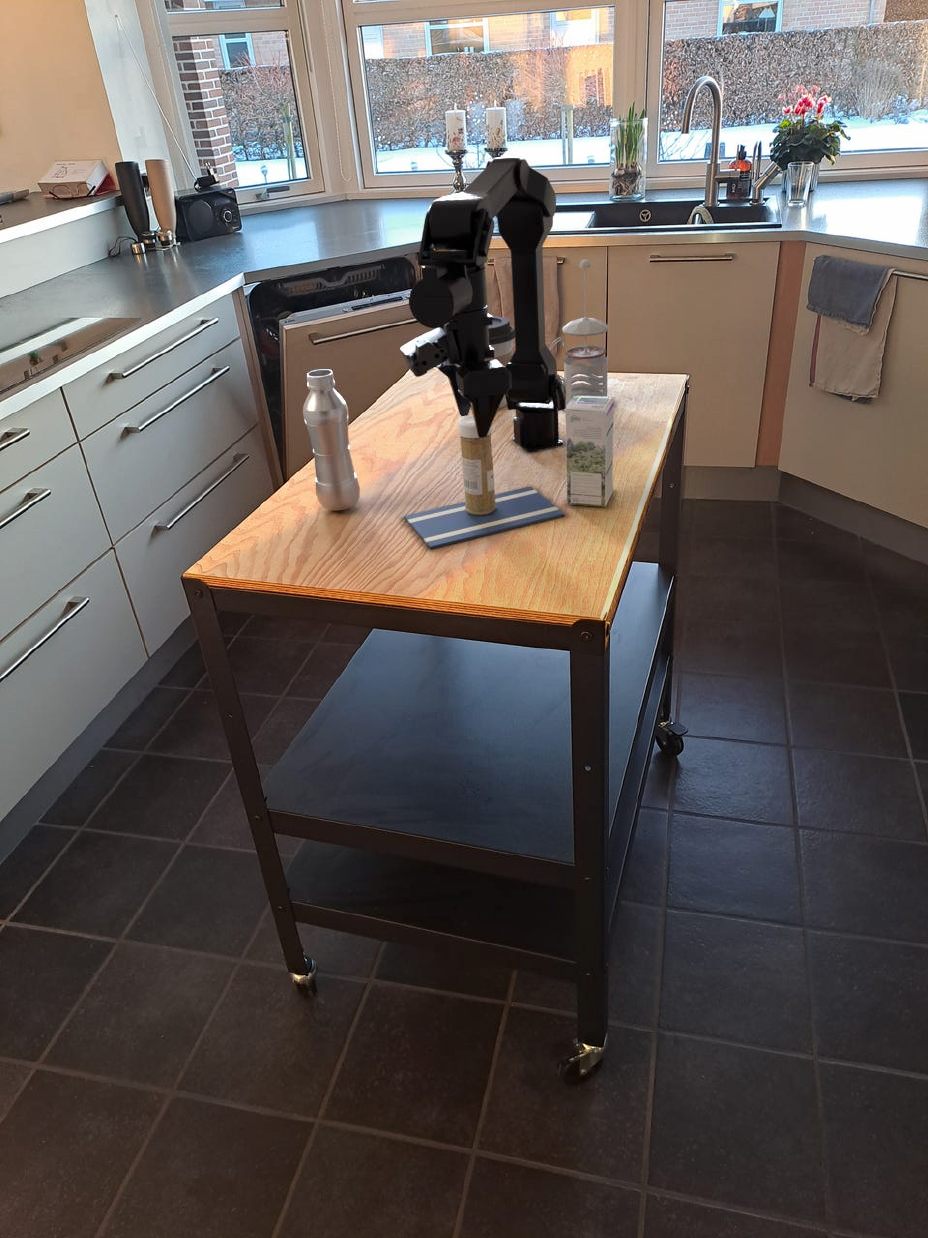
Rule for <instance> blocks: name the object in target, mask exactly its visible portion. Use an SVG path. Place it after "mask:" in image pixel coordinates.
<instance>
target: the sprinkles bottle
mask: <svg viewBox="0 0 928 1238" xmlns="http://www.w3.org/2000/svg"><path fill="white" fill-rule="evenodd" d="M457 431H458V435H459V438H460V451H461V453H460V457H461V458H460V459H461V471H462V483H463V491H464V502H466V505H465V510H466V512H467V513H469V514H472V515H487V514H490V513H492V512H493V511H494V510H495V509H496V503H495V493H496V492H495V487H496V486H495V485H496V484H495V473H494V458H493V448H492V437H491V436H492V433H493V423H492V424H491V427H490V429H489V432H488V434H487V436H486V437H482V438H480V437H478V434H477V430H476V426H475V422H474V418H473V414H470V415H469V414H468V415H467V416H462V417H461V418H460V419H458V422H457Z"/></svg>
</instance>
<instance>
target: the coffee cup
mask: <svg viewBox="0 0 928 1238" xmlns="http://www.w3.org/2000/svg"><path fill="white" fill-rule="evenodd" d="M491 316H492V322H493V325H488V327H489V344H490V346H491V347H492V348H493V349H494V357H493V358H486V359H485V361H489V360H497V361H498V362H500V363H501V364H502V365H503V366H504V367H506V365H507V364H508V363H509V361H510V359H511V357H512V355H513V349H514V348H513V347H514V346H513V345H514V340H515V329H514V326H512V325H511V322H510V319H509V318H507V317H503V316H500V315H499V316H498V315H491ZM505 407H507V402H506V397H505V395H504V397H503V399H502V401H501V403H500V405H499V408H498V410H500V409H503V408H505Z"/></svg>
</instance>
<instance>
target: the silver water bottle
mask: <svg viewBox="0 0 928 1238" xmlns="http://www.w3.org/2000/svg"><path fill="white" fill-rule="evenodd" d="M306 379H307V384H306V385H307V389H308V390H309V393H308V394H307V397H306V399H305V400H304V401H305V402H304V404H303V406H302V416H303V420H304V423H305V427H306V429H307V432H308V436H309V439H310V443H311V449H312V452H313V453H312V454H313V456H314V458H313V459H314V469H315V495H316V497H317V500H318V503H319V504H320V505H321V507H323V508H324V509H326V510H328V511H344V510H349V509H350V508H353V507H355V506H356V505H357V504H358V502H359V500H360V496H361V487H360V483H359V480H358V477H357V474H356V472H355V468H354V464H353V458H352V454H351V447H350V437H349V407H348V405H347V402H346V401H345V399H344V398H343V397H342V395H341V394H340V393H339V392H337V390H336V389H335V388H334V387H335V386H336V382H335V378H334V373H333V371H332V370H331V369H325V368H324V369H314V370H311V371H309V372H307V373H306Z"/></svg>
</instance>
